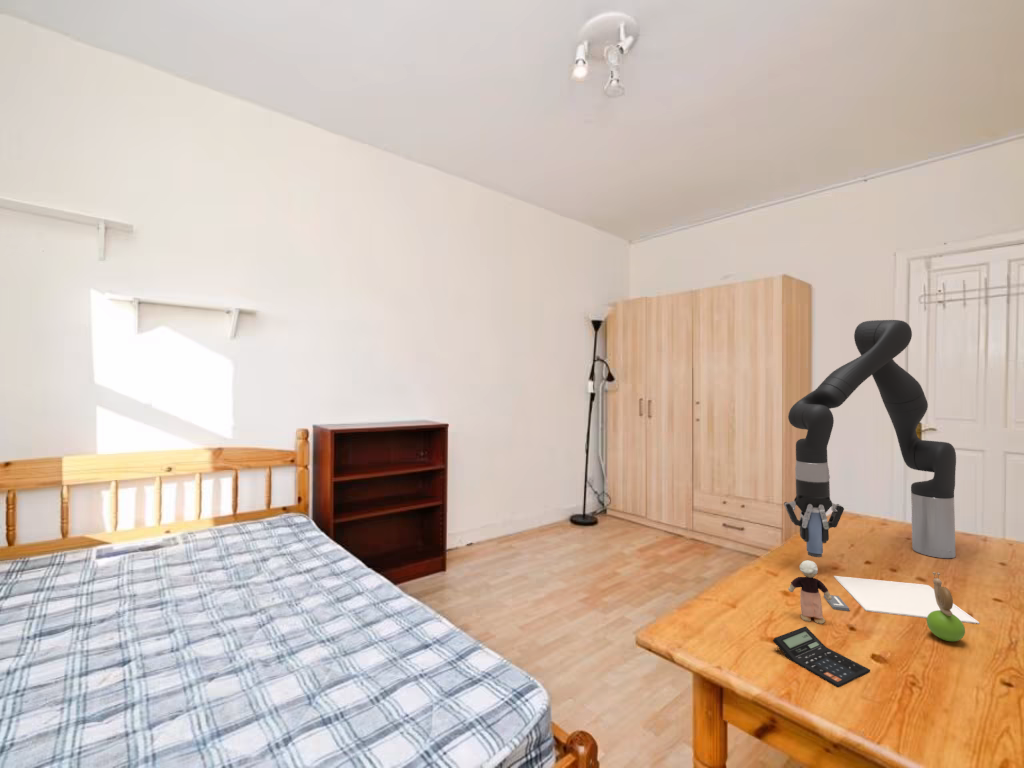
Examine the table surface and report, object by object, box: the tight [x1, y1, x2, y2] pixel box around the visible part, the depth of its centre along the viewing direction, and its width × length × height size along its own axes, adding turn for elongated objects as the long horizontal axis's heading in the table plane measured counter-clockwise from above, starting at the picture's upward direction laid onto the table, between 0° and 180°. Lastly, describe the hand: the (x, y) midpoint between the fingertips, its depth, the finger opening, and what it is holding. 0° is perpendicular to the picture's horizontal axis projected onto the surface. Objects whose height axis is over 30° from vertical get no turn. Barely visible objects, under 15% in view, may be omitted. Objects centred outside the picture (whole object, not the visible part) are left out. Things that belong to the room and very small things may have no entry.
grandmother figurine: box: [788, 559, 832, 624], centre depth 95 cm, size 8×4×13 cm, turn 71°
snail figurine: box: [926, 571, 966, 642], centre depth 87 cm, size 5×6×12 cm
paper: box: [833, 575, 980, 625], centre depth 103 cm, size 18×20×1 cm
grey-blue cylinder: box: [805, 507, 824, 558], centre depth 118 cm, size 4×4×13 cm
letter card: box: [823, 594, 850, 612], centre depth 101 cm, size 6×3×1 cm, turn 162°
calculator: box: [772, 626, 871, 688], centre depth 81 cm, size 9×12×3 cm
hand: (814, 541), depth 118 cm, fingers closed on grey-blue cylinder, 3 cm apart
